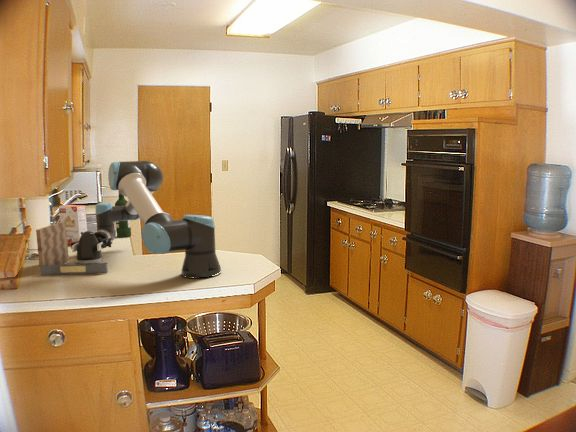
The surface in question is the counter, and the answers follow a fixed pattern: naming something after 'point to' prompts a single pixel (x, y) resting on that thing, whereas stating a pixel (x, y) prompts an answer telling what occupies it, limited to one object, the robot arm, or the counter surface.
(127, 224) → the wine bottle
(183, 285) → the counter surface
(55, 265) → the price rail
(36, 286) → the counter surface
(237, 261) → the counter surface
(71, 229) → the cracker box
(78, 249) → the black rounded dome
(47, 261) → the shelf side panel
